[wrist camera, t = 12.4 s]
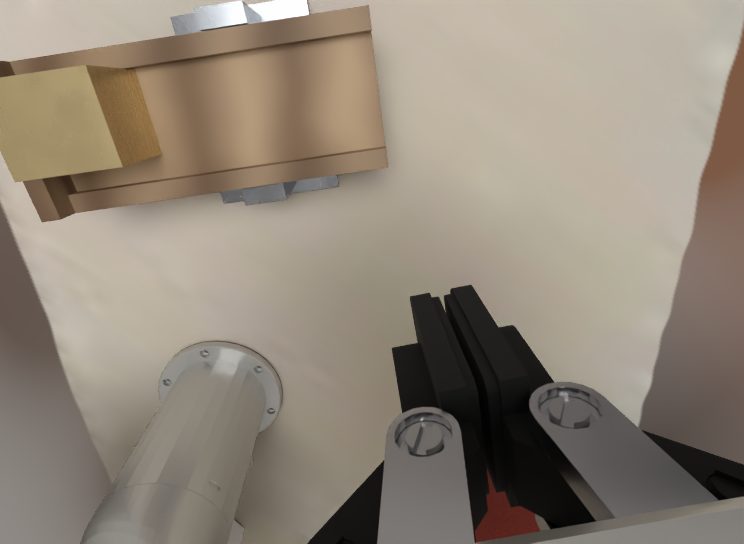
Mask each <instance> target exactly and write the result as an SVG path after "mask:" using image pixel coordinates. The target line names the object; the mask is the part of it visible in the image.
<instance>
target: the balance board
mask: <svg viewBox="0 0 744 544" xmlns="http://www.w3.org/2000/svg"><path fill="white" fill-rule="evenodd" d="M371 30H372V28H371V20H370V12H369V5H367V6H361V7H354V8H348V9H342V10H335V11H329V12H323V13H316V14H310V15H304V16H297V17H291V18H285V19H278V20H272V21H266V22H259V23H253V24H247V25H240V26H234V27H227V28H221V29H215V30H208V31H202V32H196V33H189V34H183V35H177V36H170V37H164V38H158V39H151V40H145V41H139V42H132V43H126V44H120V45H113V46H107V47H100V48H94V49H88V50H81V51H75V52H69V53H62V54H56V55H50V56H43V57H37V58H31V59H24V60H18V61H12V62H6V61H0V77H7V76H14V75H20V74H27V73H34V72H41V71H47V70H54V69H61V68H68V67H74V66H81V65H92V66H103V67H114V68H124V69H135V71H136V74H137V77H138V80H139V83H140V86H141V89H142V92H143V96H144V99H145V102H146V105H147V108H148V111H149V114H150V117H151V120H152V123H153V126H154V130H155V133H156V136H157V139H158V142H159V145H160V148H161V151H162V154H161V155H158V156H155V157H152V158H149V159H146V160H143V161H140V162H137V163H134V164H131V165H127V166H124V167H120V168H113V169H105V170H98V171H91V172H84V173H77V174H70V175H63V176H56V177H49V178H42V179H35V180H28V181H23V183H24V185H25V187H26V189H27V191H28V193H29V196H30V198H31V200H32V202H33V204H34V206H35V208H36V210H37V212H38V215H39V217H40V219H41V221H42V222H47V221H54V220H60V219H63V218H65V217H67V216H70V215H72V214H74V213H79V212H86V211H93V210H100V209H106V208H113V207H120V206H127V205H134V204H141V203H147V202H154V201H161V200H168V199H175V198H182V197H188V196H195V195H202V194H209V193H216V192H223V191H229V190H236V189H243V188H250V187H257V186H264V185H270V184H277V183H284V182H291V181H298V180H305V179H311V178H318V177H325V176H332V175H339V174H346V173H352V172H359V171H366V170H373V169H380V168H387V167H388V160H387V152H386V147H385V141H384V133H383V125H382V116H381V108H380V100H379V92H378V84H377V75H376V67H375V59H374V51H373V43H372V34H371Z"/></svg>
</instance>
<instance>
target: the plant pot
mask: <svg viewBox="0 0 744 544" xmlns="http://www.w3.org/2000/svg"><path fill="white" fill-rule="evenodd" d="M487 475H488V484H489V494H487V495H486V497H487V506H488V511H487V513H486V515H485V516H484V518H483V519H482V521H481V522H480V524H479V526H478V527H477V529H476V530H475V535H476V542H482V541H488V540H494V539H499V538H505V537H511V536H517V535H522V534H528V533H534V532H539V531H540V529H539V527H538V524H537V522H536V518H535V513H533V512H531V511H529V510H527V509H525V508H523V507H521V506H517V507H510V504H509V502H508V499H507V497H506V494H505V491H504V492H499V493H497V492H496V491H495V488H494V486H493V483H492V480H491V478H490V475H489V472H488V469H487Z"/></svg>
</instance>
